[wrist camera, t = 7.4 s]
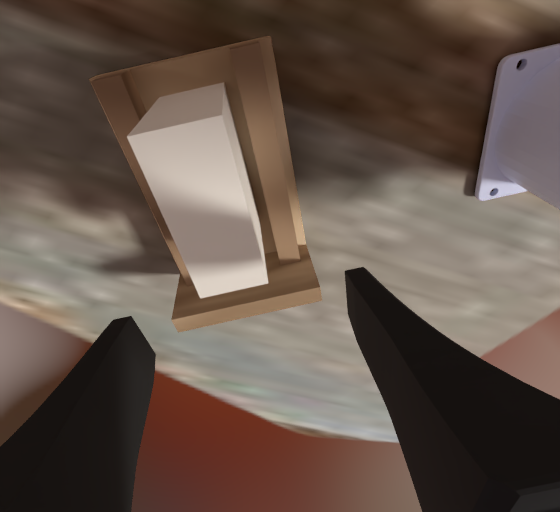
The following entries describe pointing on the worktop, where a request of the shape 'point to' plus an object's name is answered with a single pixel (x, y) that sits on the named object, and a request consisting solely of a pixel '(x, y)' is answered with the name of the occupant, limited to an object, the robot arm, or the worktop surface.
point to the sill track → (259, 162)
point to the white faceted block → (203, 188)
